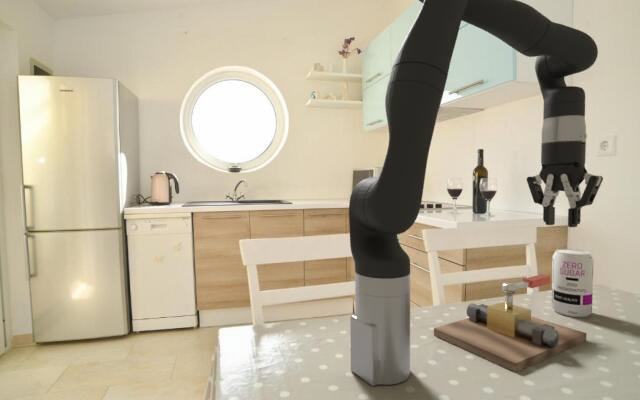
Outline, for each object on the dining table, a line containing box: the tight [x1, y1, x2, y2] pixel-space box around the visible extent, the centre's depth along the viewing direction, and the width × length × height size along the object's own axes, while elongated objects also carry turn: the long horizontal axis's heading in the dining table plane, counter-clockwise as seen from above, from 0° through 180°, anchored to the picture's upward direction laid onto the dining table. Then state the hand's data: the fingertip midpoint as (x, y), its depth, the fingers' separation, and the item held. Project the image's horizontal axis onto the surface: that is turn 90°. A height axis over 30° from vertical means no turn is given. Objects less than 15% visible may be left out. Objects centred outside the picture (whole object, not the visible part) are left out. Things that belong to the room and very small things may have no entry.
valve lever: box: [501, 274, 551, 295], centre depth 80 cm, size 15×3×2 cm, turn 121°
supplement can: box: [551, 248, 594, 318], centre depth 92 cm, size 8×8×15 cm
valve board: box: [433, 315, 587, 373], centre depth 77 cm, size 24×18×2 cm
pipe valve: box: [466, 293, 559, 347], centre depth 77 cm, size 6×18×9 cm, turn 31°
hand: (561, 225), depth 76 cm, fingers open, 3 cm apart
